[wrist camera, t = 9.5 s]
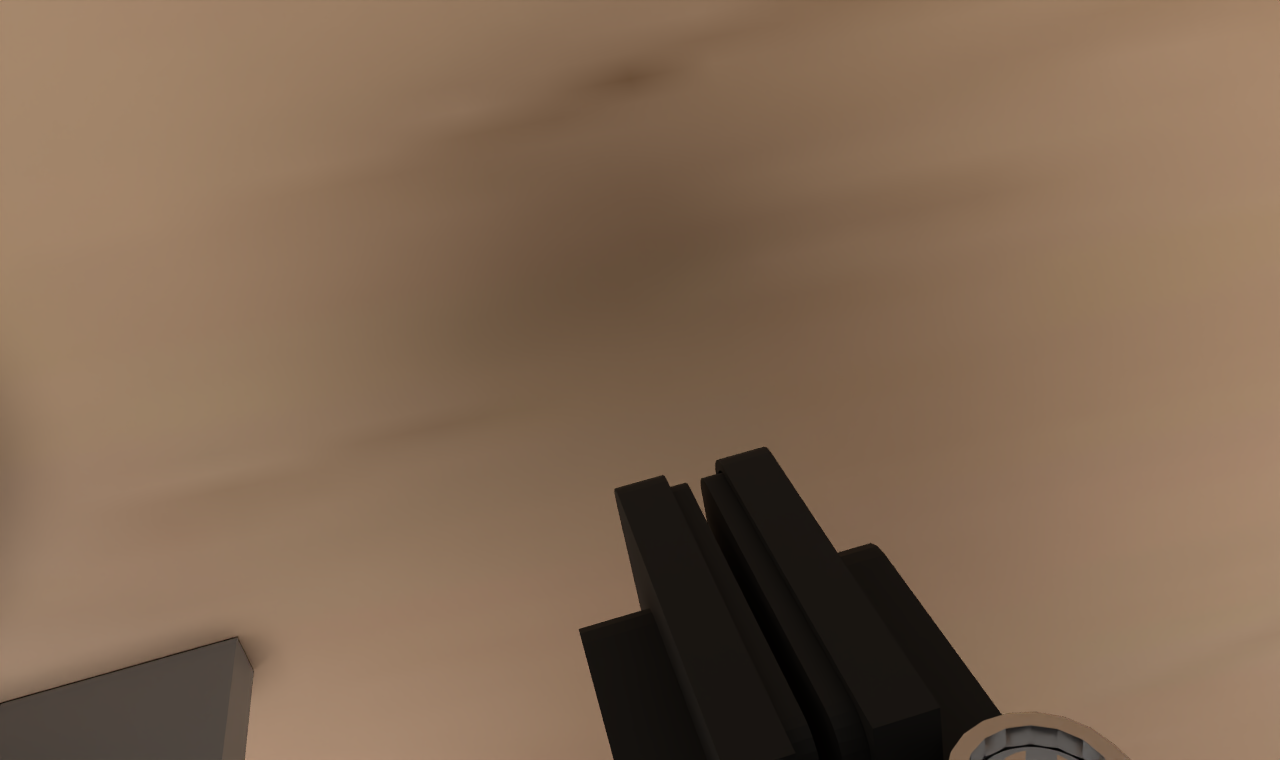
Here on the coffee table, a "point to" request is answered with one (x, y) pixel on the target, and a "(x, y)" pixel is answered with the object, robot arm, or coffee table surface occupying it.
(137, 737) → the frame
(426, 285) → the coffee table surface
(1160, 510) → the coffee table surface
